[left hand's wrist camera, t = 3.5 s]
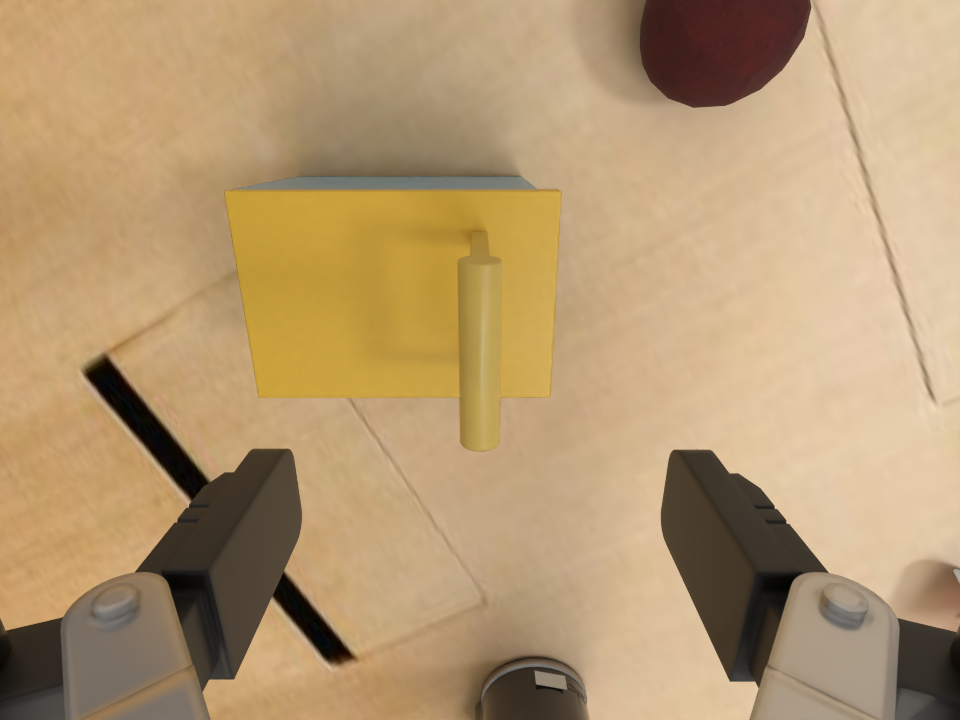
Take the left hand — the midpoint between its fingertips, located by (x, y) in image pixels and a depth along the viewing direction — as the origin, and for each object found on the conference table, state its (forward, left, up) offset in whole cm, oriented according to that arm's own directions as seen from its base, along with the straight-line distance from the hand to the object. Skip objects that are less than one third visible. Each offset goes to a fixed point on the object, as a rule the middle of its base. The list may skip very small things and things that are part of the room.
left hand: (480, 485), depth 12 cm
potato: (+17, -1, -25) cm, 30 cm away
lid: (-2, +3, -15) cm, 16 cm away
